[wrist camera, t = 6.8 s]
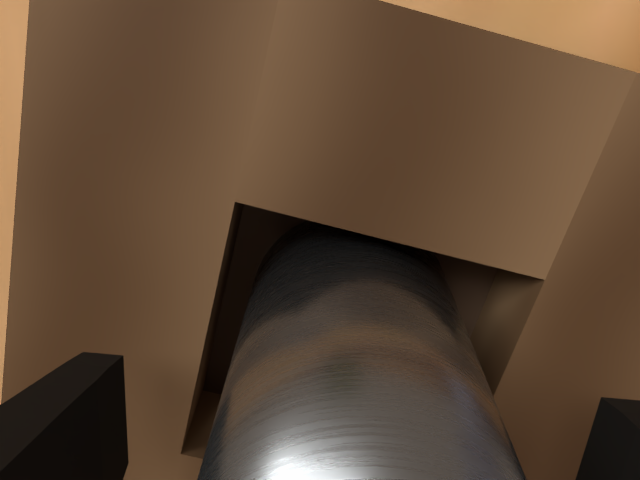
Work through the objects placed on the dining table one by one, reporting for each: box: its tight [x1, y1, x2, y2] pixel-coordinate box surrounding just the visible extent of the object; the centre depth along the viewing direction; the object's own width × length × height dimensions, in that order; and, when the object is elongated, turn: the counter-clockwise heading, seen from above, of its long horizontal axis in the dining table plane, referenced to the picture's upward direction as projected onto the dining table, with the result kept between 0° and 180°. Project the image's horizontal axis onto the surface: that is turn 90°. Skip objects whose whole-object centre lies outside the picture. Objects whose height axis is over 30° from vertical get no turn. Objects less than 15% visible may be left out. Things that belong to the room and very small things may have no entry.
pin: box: [197, 220, 526, 480], centre depth 9 cm, size 4×4×7 cm
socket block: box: [1, 0, 640, 480], centre depth 12 cm, size 12×12×2 cm
